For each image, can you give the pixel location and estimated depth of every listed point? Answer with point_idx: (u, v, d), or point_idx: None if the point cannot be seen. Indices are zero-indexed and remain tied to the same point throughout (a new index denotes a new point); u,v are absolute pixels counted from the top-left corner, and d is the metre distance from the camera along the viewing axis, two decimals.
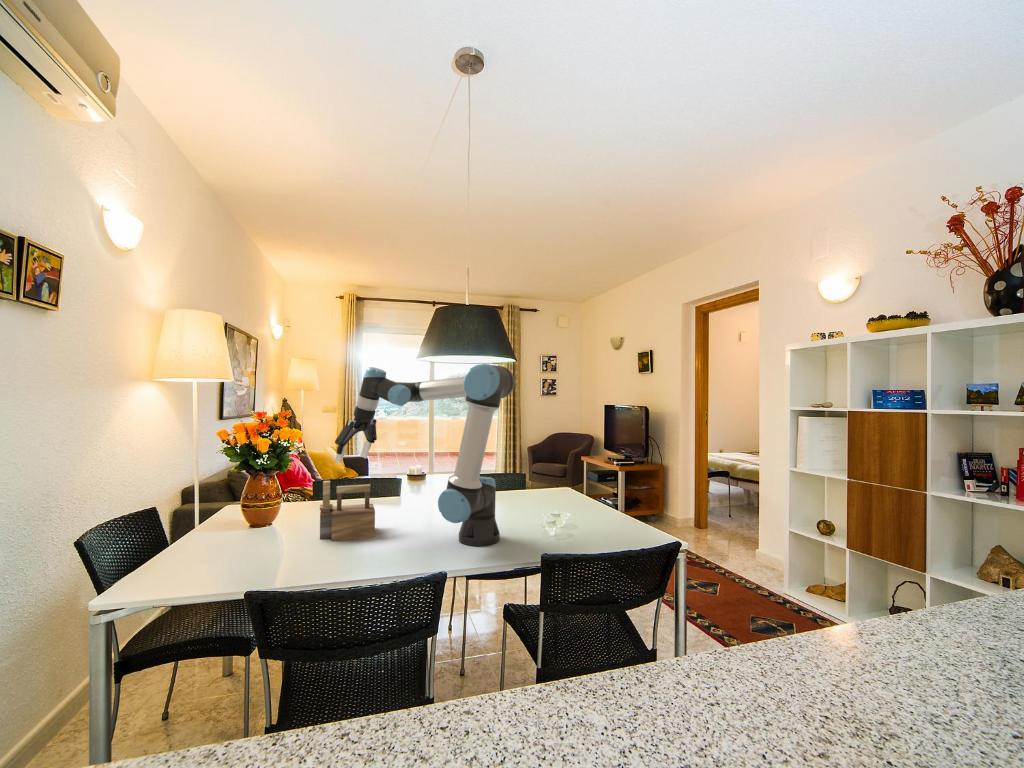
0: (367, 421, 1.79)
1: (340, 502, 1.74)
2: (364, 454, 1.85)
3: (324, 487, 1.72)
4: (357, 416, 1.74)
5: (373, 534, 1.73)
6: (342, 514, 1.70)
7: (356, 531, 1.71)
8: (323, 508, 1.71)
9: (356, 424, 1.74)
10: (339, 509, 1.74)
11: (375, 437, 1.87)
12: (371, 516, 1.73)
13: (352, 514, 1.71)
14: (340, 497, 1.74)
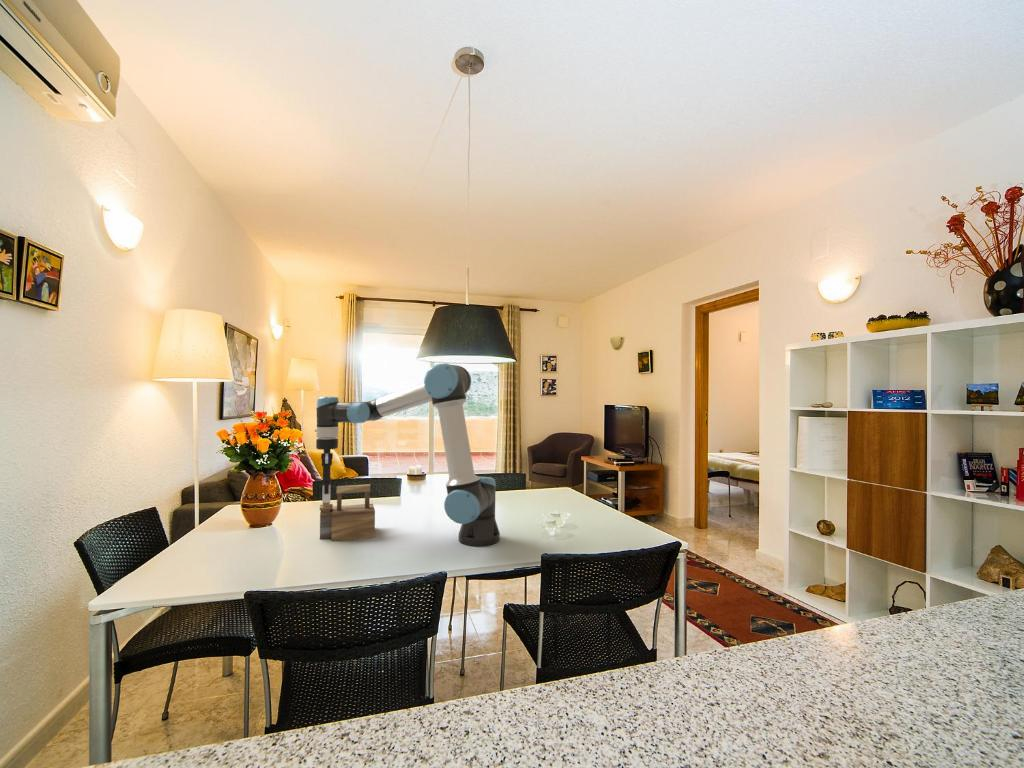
0: None
1: (340, 502, 1.74)
2: None
3: None
4: (328, 447, 1.70)
5: (373, 534, 1.73)
6: (342, 514, 1.70)
7: (356, 531, 1.71)
8: (323, 508, 1.71)
9: (329, 456, 1.70)
10: (339, 509, 1.74)
11: None
12: (371, 516, 1.73)
13: (352, 514, 1.71)
14: (340, 497, 1.74)
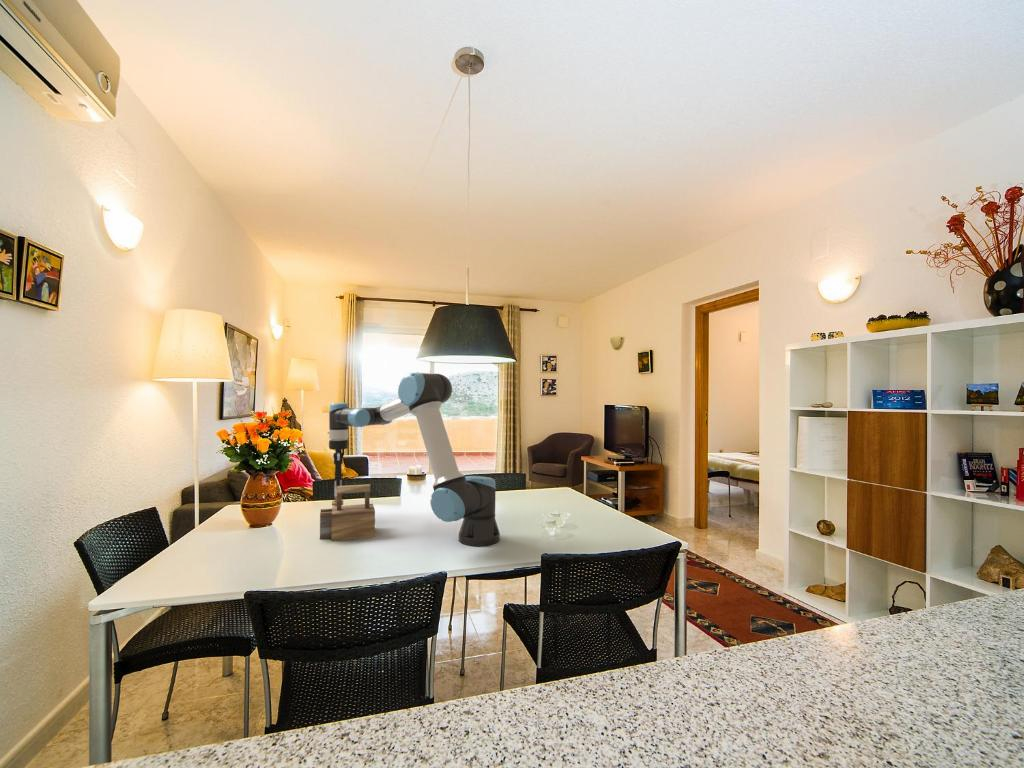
0: None
1: (340, 502, 1.74)
2: None
3: None
4: (339, 448, 1.93)
5: (373, 534, 1.73)
6: (342, 514, 1.70)
7: (356, 531, 1.71)
8: (335, 504, 1.94)
9: (340, 455, 1.93)
10: (339, 509, 1.74)
11: None
12: (371, 516, 1.73)
13: (352, 514, 1.71)
14: (340, 497, 1.74)
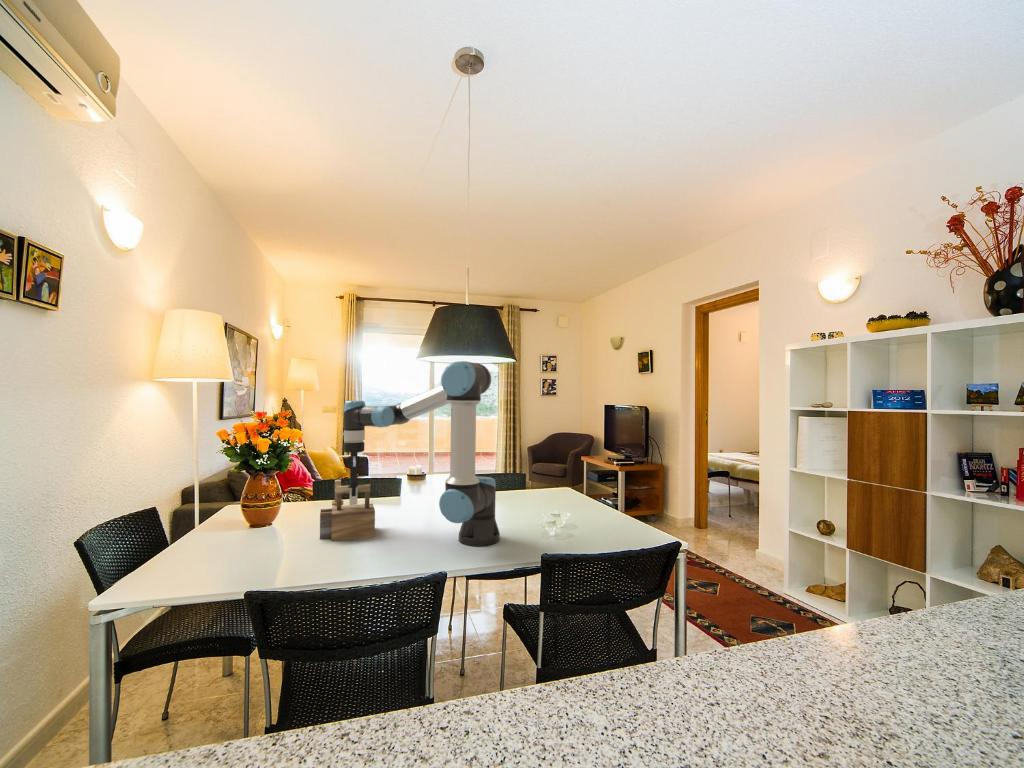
0: None
1: (340, 502, 1.74)
2: None
3: (336, 485, 1.95)
4: (355, 451, 1.74)
5: (373, 534, 1.73)
6: (342, 514, 1.70)
7: (356, 531, 1.71)
8: (335, 504, 1.94)
9: (356, 459, 1.74)
10: (339, 509, 1.74)
11: None
12: (371, 516, 1.73)
13: (352, 514, 1.71)
14: (340, 497, 1.74)
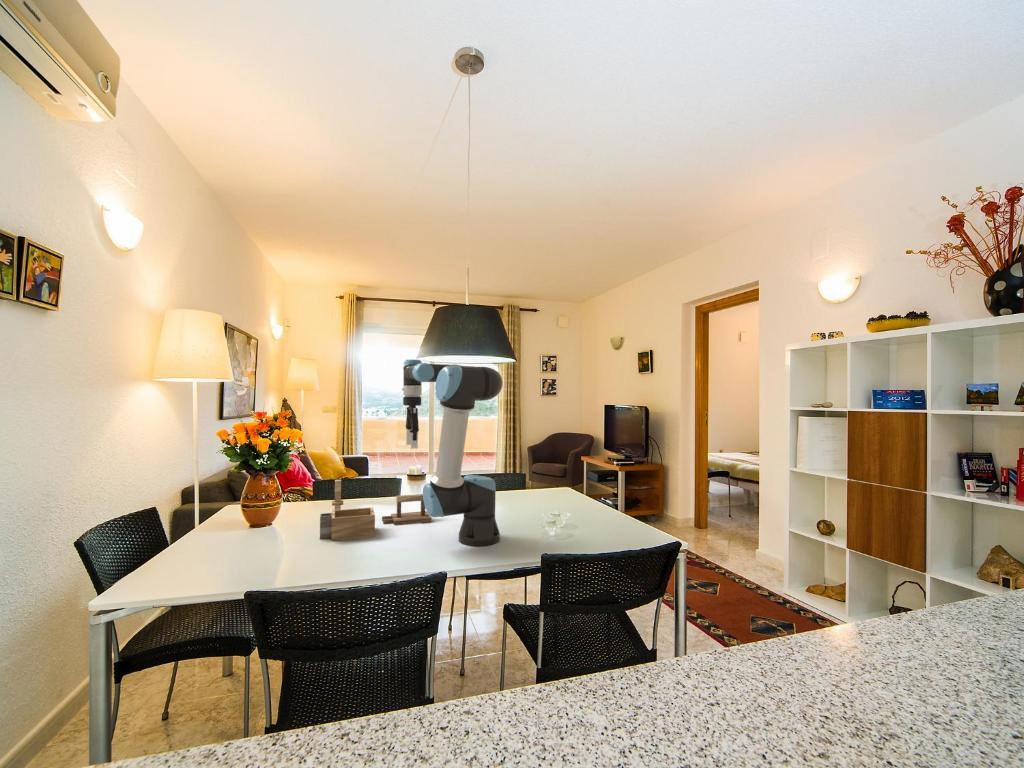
0: None
1: (400, 510, 1.95)
2: (410, 441, 2.03)
3: (336, 485, 1.95)
4: (414, 404, 1.94)
5: (373, 534, 1.73)
6: (403, 521, 1.90)
7: (356, 531, 1.71)
8: (335, 504, 1.94)
9: None
10: (399, 516, 1.94)
11: None
12: (371, 516, 1.73)
13: (412, 521, 1.91)
14: (400, 505, 1.95)
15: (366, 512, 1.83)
